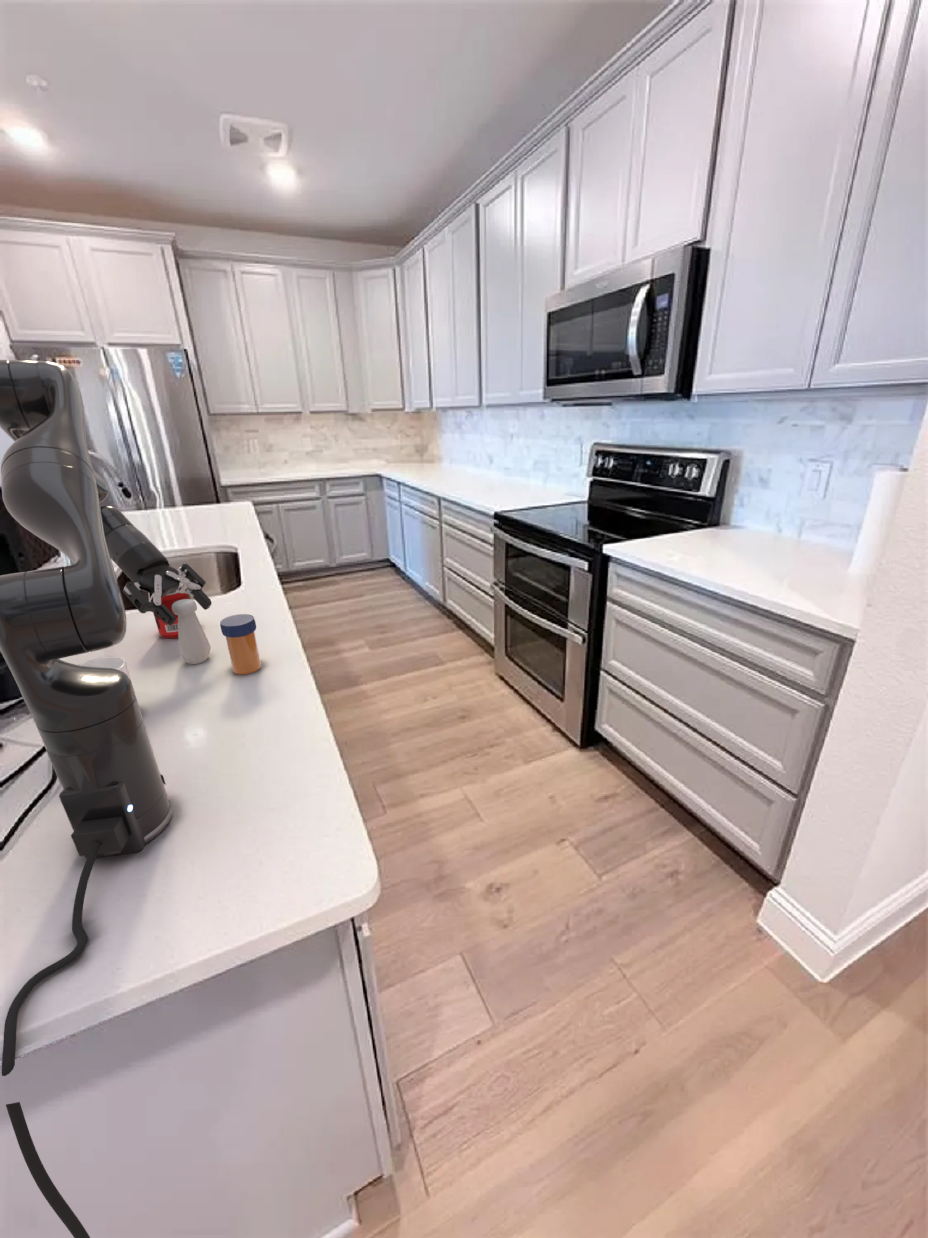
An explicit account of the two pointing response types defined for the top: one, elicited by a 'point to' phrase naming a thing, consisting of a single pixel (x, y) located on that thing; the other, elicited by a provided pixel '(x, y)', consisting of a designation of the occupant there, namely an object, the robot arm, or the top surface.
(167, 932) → the top surface
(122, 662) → the white cup
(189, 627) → the salt shaker
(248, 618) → the lid
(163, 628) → the canned food
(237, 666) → the jar
